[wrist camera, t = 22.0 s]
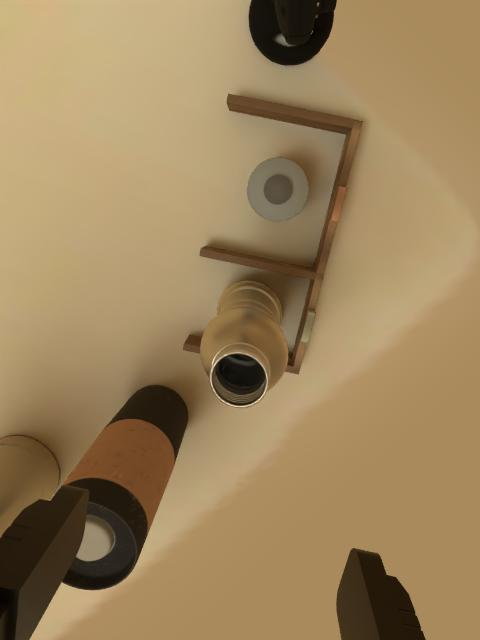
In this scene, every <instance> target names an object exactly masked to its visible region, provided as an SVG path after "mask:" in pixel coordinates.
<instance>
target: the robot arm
mask: <svg viewBox="0 0 480 640" xmlns="http://www.w3.org/2000/svg"><path fill="white" fill-rule="evenodd" d="M58 482H59V467H58V465H57V462H56V460H55V458H54V456H53V455H52V453H51V452H50V451H49V450H48V449H47V448H46V447H45V446H44V445H42V444H41V443H39V442H37V441H36V440H34V439H31V438H28V437H24V436H8V437H5V438H2V439H0V640H29V639H30V637H31V636H32V634H33V632H34V630H35V629H36V627H37V625H38V623H39V621H40V620H41V618H42V616H43V614H44V612H45V611H46V609H47V607H48V605H49V603H50V602H51V600H52V598H53V596H54V595H55V593H56V591H57V589H58V587H59V586H60V584H61V582H62V580H63V578H64V577H65V575H66V573H67V571H68V570H69V568H70V566H71V564H72V562H73V561H74V559H75V557H76V555H77V553H78V551H79V549H80V546H81V543H82V540H83V536H84V531H85V523H86V516H87V508H88V500H89V490H87V489H82V488H77V487H73V486H68V485H63V486H62V487H61V488H60V489H59V490H58V492H57V493H56V494H55V496H54V497H53V498H52V500H51V501H48V499H49V497H50V496H51V495H52V493H53V492H54V491H55V489H56V488H57V485H58ZM336 605H337V616H338V622H339V628H340V633H341V639H342V640H426V639H425V637H424V634H423V631H421V626H420V623H419V621H418V618H417V616H415V610H414V607H413V605H412V602H411V599H410V597H409V594H408V593H407V591H406V590H405V589H404V587H403V586H402V585H401V583H400V582H399V581H398V579H397V578H396V577H393V576H389V575H386V572H385V569H384V566H383V563H382V560H381V557H380V555H379V554H377V553H374V552H369V551H364V550H360V549H355V548H353V549H352V550H351V551H350V554H349V557H348V560H347V563H346V566H345V569H344V572H343V575H342V579H341V581H340V585H339V588H338V592H337V603H336Z"/></svg>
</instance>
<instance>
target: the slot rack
mask: <svg viewBox="0 0 480 640" xmlns="http://www.w3.org/2000/svg"><path fill="white" fill-rule="evenodd" d="M227 105H228V108H229V110H230V111H235V112H240V113H245V114H249V115H254V116H259V117H264V118H269V119H274V120H279V121H283V122H288V123H293V124H298V125H303V126H308V127H313V128H318V129H322V130H327V131H332V132H337V133H342V134H346V138H345V142H344V146H343V151H342V155H341V159H340V163H339V167H338V171H337V175H336V179H335V183H334V187H333V191H332V195H331V199H330V203H329V208H328V212H327V216H326V220H325V224H324V228H323V232H322V236H321V240H320V244H319V248H318V252H317V256H316V260H315V265H314V269H311V268H306V267H302V266H297V265H292V264H287V263H283V262H278V261H273V260H268V259H263V258H259V257H254V256H249V255H244V254H240V253H235V252H230V251H225V250H220V249H216V248H211V247H206V246H205V247H203V248H201V251H200V256H203V257H207V258H212V259H217V260H222V261H227V262H231V263H236V264H241V265H246V266H250V267H255V268H260V269H265V270H269V271H274V272H279V273H284V274H289V275H293V276H298V277H303V278H308V279H311V281H310V285H309V289H308V293H307V297H306V301H305V305H304V309H303V313H302V317H301V322H300V326H299V330H298V334H297V338H296V342H295V346H294V350H293V354H292V357H290V356H288V362H287V367H286V369H285V372H290V373H295V374H299V371H300V367H301V363H302V359H303V355H304V351H305V347H306V343H307V342H308V341H309V337H310V333H311V329H312V325H313V321H314V317H315V308H316V304H317V300H318V296H319V292H320V288H321V284H322V280H323V276H324V272H325V268H326V264H327V260H328V256H329V252H330V248H331V244H332V240H333V237H334V233H335V229H336V225H337V222H339V219H340V215H341V211H342V207H343V203H344V199H345V195H346V191H347V188H346V185H347V181H348V177H349V173H350V169H351V165H352V161H353V157H354V153H355V150H356V146H357V142H358V138H359V134H360V130H361V126H362V122H363V121H359V120H354V119H349V118H344V117H339V116H334V115H329V114H325V113H320V112H315V111H310V110H305V109H300V108H295V107H290V106H285V105H281V104H276V103H271V102H266V101H261V100H256V99H251V98H246V97H242V96H237V95H232V94H228V97H227ZM201 339H202V338H200V337H195V336H191V335H189V337H188V338H187V340H186V341H185V343H184V347H183V350H186V351H191V352H196V353H200V345H201Z"/></svg>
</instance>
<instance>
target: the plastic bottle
mask: <svg viewBox="0 0 480 640" xmlns="http://www.w3.org/2000/svg"><path fill="white" fill-rule="evenodd" d="M281 322H282V307H281V304H280V301H279V299H278V297H277V296H276V294H275V293H274V292H273V291H272V290H271V289H270V288H269V287H267V286H266V285H264V284H262V283H260V282H256V281H241V282H238V283H235V284H233V285H231V286H230V287H228V288H227V289H226V290H225V291H224V293H223V294H222V296H221V297H220V300H219V302H218V307H217V316H216V317H215V318H214V319H213V320H212V321H211V322H210V324H209V325H208V326H207V328H206V330H205V331H204V334H203V336H202V339H201V345H200V356H201V360H202V364H203V366H204V369H205V371H206V373H207V375H208V377H209V378H210V384H211V388H212V390H213V392H214V394H215V395H216V396H217V398H219V399H220V400H221V401H222V402H223V403H225V404H227V405H229V406H232V407H236V408H245V407H250V406H252V405H254V404H256V403H258V402H259V401H260V400H261V399H262V398H263V397H264V395H265V394H266V392H267V391H268V390H270V389H271V388H272V387H273V386H274V385H275V384H276V383H277V382H278V381H279V380H280V378H281V377H282V375H283V374H284V371H285V369H286V367H287V362H288V346H287V341H286V339H285V336H284V334H283V332H282V330H281V328H280V325H281Z"/></svg>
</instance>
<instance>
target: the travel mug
mask: <svg viewBox="0 0 480 640" xmlns="http://www.w3.org/2000/svg"><path fill="white" fill-rule="evenodd" d="M187 422H188V411H187V407H186V405H185V403H184V401H183V399H182V398H181V397H180V396H179V395H178V394H177V393H176V392H175V391H173V390H171V389H169V388H167V387H164V386H156V385H154V386H147V387H144V388H142V389H140V390H138V391H137V392H136V393H135V394H134V395H133V396H132V397H131V398H130V399H129V400H128V401H127V402H126V404H125V405H124V406H123V407H122V408H121V410H120V411H119V412H118V413H117V414H116V415H115V417H114V418H113V419H112V420H111V421H110V423H109V424H108V425H107V426H106V427H105V429H104V430H103V431H102V432H101V434H100V435H99V436H98V438H97V439H96V440H95V442H94V443H93V444H92V446H91V447H90V448H89V450H88V451H87V453H86V454H85V455H84V457H83V458H82V459H81V461H80V462H79V463H78V465H77V466H76V467H75V469H74V470H73V472H72V473H71V474H70V476H69V477H68V478H67V480H66V481H65V482H64V484H63V485H68V486H73V487H77V488H82V489H87V490H89V500H88V508H87V516H86V523H85V531H84V536H83V540H82V543H81V546H80V549H79V551H78V553H77V555H76V557H75V559H74V561H73V562H72V564H71V566H70V568H69V570H68V571H67V573H66V575H65V577H64V578H63V580H62V582H63V583H64V584H67V585H69V586H72V587H75V588H78V589H84V590H101V589H106V588H110V587H112V586H115V585H117V584H118V583H120V582H122V581H123V580H124V579H125V578H127V576H128V575H129V574H130V573H131V572H132V570H133V569H134V567H135V565H136V563H137V560H138V558H139V555H140V553H141V550H142V548H143V545H144V543H145V540H146V537H147V535H148V532H149V530H150V527H151V525H152V522H153V519H154V517H155V514H156V512H157V509H158V506H159V504H160V501H161V499H162V496H163V494H164V491H165V488H166V486H167V483H168V481H169V478H170V476H171V473H172V470H173V467H174V464H175V461H176V458H177V455H178V452H179V448H180V445H181V442H182V439H183V436H184V433H185V429H186V426H187ZM63 485H62V486H63ZM62 486H61V487H62Z"/></svg>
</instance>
